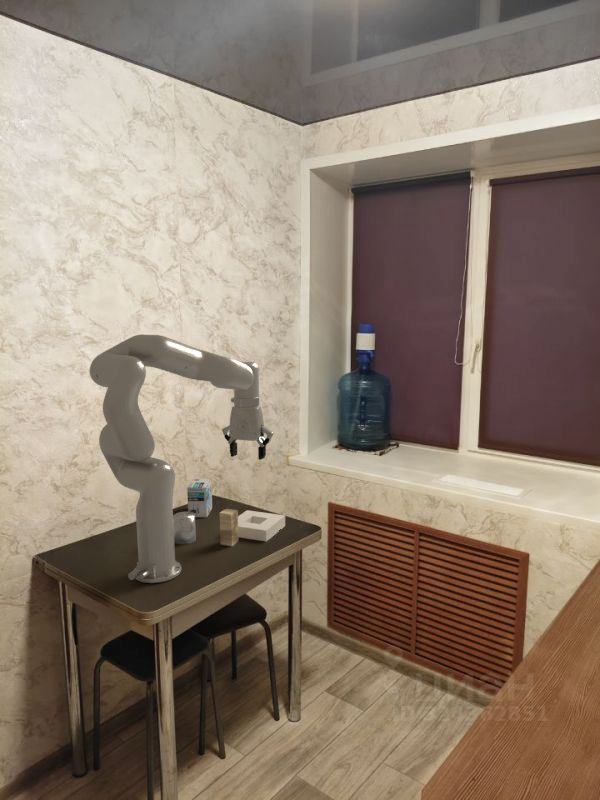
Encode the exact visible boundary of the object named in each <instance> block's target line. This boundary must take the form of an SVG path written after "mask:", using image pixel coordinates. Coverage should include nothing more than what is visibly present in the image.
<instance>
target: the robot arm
mask: <svg viewBox="0 0 600 800" xmlns="http://www.w3.org/2000/svg"><path fill="white" fill-rule="evenodd" d="M146 367H148V368H154V369H157V370H158V369H159V370H160V371H164V372H168V373H171V374H174V375H177V376H180V377H182V378H185V379H191V380H196V381H203V382H209V383H210V384H211V385H212V386H213V387H215V388H219V389H225V390H233V393H234V394H233V395H234V396H233V397H232V398H231V399H230V402H231V403H233V406H232V407H231V411H230V417H229V425H227V426H225V427H223V428H222V429H221V432H222V433H223V436H224V439H225V440H226V441H227V444H228V445H229V453H230V457H231V458H234V457H235V456H236V457H237V455H238V443H237V440H238V441H246V442H247V441H248V442H249V441H250V442H255V441H256V443H257V444H258V445H259V446H258V447H257V448H258V449H257V451H258V454H257V455H258V460H259V461H261V460H263V459H265V458H266V455H267V453H266V451H267V448H266V447H267V445H268V444H269V443H270V442H271V441H272V438H273V436H274V434H275V433H274V432H273V431H271V430H270V429H268V428H267V427H265V423H264V416H263V410H262V407H261V406H260V382H259V381H260V379H259V378H260V377H259V376H260V375H259V373H260V371H259V365H258V363H256V362H252V361H239V360H236V359H234V358H233V359H232V358H230V357H227V356H223V355H219V354H216V353H212V352H209V351H206V350H203V349H199V348H197V347H193V346H191V345H188V344H185V343H183V342H180V341H177V340H175V339H172V338H169V337H168V336H163V335H160V334H141V333H140V334H137V335H133V336H131V337H129V338H127V339H124V340H123V341H121V342H120V343H118V344H116V345H114V346H112V347H111V348H108V349H107V350H104V351H103V352H101V353H100V354H98V355H97V356H95V358H94V359H93V360H92V361H91V363H90V366H89V375H90V378H91V380H92V381H93V382H94V383H95V384H97V385H98V386H100V387H102V388H103V387H104V388H107V389H106V392H105V394H104V398H103V402H102V413H103V414H102V415H103V417H104V419H105V421H106V424H105V425H104V427H102V429H101V430H100V434H99V436H98V437H99V438H98V441H99V448H100V451H101V453H102V455H103V457H104V459H105V461H106V463H107V465H108V466H109V468H110V470H111V472H112V474H113V475H114V478H115V479H116V480H117V482H118V483H119V484H120V485H121V486H123V487H124V488H126V489H130V490H133V491H135V492H138V493H139V498H138V500H137V503H136V507H135V521H136V522H135V523H136V535H137V536H136V537H137V553H138V556H137V557H138V561H137V562H136V567H135V568H134V569H133V570H132V571H130V572H129V573H128V575H127V578H128V579H129V580H131V581H134V580H137V581H139V582H141V583H146V584H147V583H148V584H156V583H157V584H158V583H163V582H167V581H168V582H169V581H170V580H172V579H174V578H177V577H178V576H179V575H180V574H181V573H182V565H181V563H180V562H179V561H177V560H176V554H175V553H176V551H175V547H176V546H175V542H174V525H173V515H174V511H173V510H174V509H173V508H174V507H173V503H174V502H173V499H174V490H175V484H176V483H175V482H176V474H175V471H174V468H173V467H172V465H170V463H168V462H167V461H165V460H163V459H159V458H155V457H152V456H153V454H154V451H155V448H156V447H155V441H154V437H153V435H152V433H151V430H150V429H149V427H148V424H147V422H146V420H145V419H144V418H145V417H144V416H143V414H142V411H141V409H140V407H139V395H140V392H141V389H142V387H143V385H144V382H145V380H146V377H147V376H146V375H147V370H146ZM265 435H266V437H265ZM264 437H265V438H264Z"/></svg>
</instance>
